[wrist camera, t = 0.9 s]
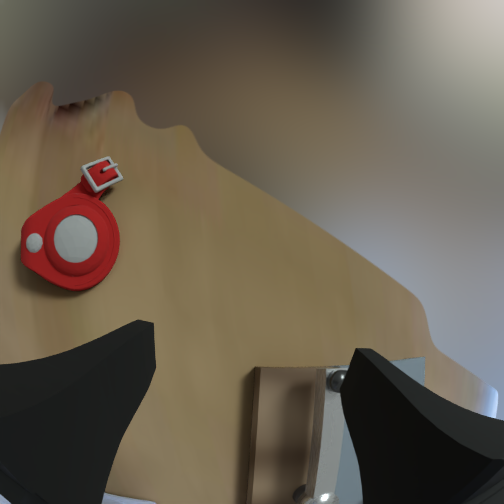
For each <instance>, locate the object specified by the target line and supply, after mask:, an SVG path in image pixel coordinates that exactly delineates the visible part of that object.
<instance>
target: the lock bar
mask: <svg viewBox="0 0 504 504" xmlns="http://www.w3.org/2000/svg"><path fill="white" fill-rule="evenodd" d="M347 370H348V368H316V384H315V401H314V415H313V427H312V438H311V448H310V457H309V466H308V474H307V481H306V488H305V492H304V493H302V494H301V495H300V497H299V498H298V500H297V502H296V504H339V498H338V496H337V495H335V494H334V493H335V487H336V481H337V475H338V469H339V462H340V455H341V447H342V439H343V430H344V419H345V417H344V414H343V410H342V404H341V397H340V390H339V389H340V387H341V385H342V382H343V380H344V378H345V375H346V373H347Z"/></svg>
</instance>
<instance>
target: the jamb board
mask: <svg viewBox="0 0 504 504" xmlns="http://www.w3.org/2000/svg"><path fill="white" fill-rule="evenodd" d="M316 368H333V367H326V366H323V367H255V377H254V394H253V411H252V427H251V443H250V458H249V473H248V487H247V501H246V504H296V502H297V500H298V498H299V497H300V495H301V494H302V493H304V492H305V488H306V481H307V474H308V466H309V457H310V448H311V438H312V427H313V415H314V401H315V384H316Z"/></svg>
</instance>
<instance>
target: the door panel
mask: <svg viewBox="0 0 504 504" xmlns="http://www.w3.org/2000/svg"><path fill="white" fill-rule="evenodd" d="M389 362H391V363H392V364H393V365H395V366H396V367H397V368H399V369H400V370H401V371H403V372H404V373H406V374H407V375H408V376H410V377H411V378H412V379H414V380H415V381H417V382H418V383H420V384H421V385H423V386H424V378H425V357H418V358H409V359H402V360H395V361H389ZM328 367H333V368H349V365H342V366H328ZM334 494H335V495H337V496H338V498H339V504H363V497H362V485H361V478H360V471H359V465H358V461H357V457H356V453H355V450H354V447H353V444H352V440H351V437H350V434H349V431H348V427H347V424H346V421H345V419H344V430H343V439H342V447H341V455H340V462H339V469H338V475H337V481H336V487H335V493H334Z"/></svg>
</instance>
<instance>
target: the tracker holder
mask: <svg viewBox="0 0 504 504" xmlns="http://www.w3.org/2000/svg"><path fill="white" fill-rule="evenodd" d="M117 166H118V164H117V163H116V164H114V163H113V161H112V160H111V158H110V157H109V156H108V157H105V158H102V159H100V160H97V161H94V162H92V163H89V164H86V165H84V166H82V167H81V171H82V173H83V175H82V177H81V182H80V183H79V184H77V185H76V186H75V187H74V188H73V189H71V190H70V191H69V192H67V193H66V194H64V195H63V196H62V197H60V198H59V199H57V200H55V201H53V202H51V203H49V204H48V205H46V206H44V207H43V208H41V209H40V210H38V211H37V212H36V213H34V214H33V215H31V216H30V217H29V218H28V219H27V220H26V221H25V223H24V225H23V227H22V230H21V262H22V263H23V264H24V265H25V266H26V267H28V268H29V269H31V270H32V271H34V272H35V273H37V274H38V275H40V276H41V277H42V278H44V279H45V280H47V281H48V282H50V283H52V284H55V285H57V286H59V287H61V288H64V289H67V290H71V291H82V290H86V289H89V288H91V287H93V286H95V285H97V284H98V283H99V282H101V281H102V280H103V279H104V278H105V277H106V276H107V275H108V273H109V272H110V271H111V269H112V267H113V265H114V263H115V261H116V259H117V255H118V251H119V245H120V237H119V230H118V225H117V223H116V220H115V218H114V216H113V214H112V213H111V211H110V210H109V208H108V207H107V206H106V205H105V204H104V203H103V202H101V201H100V200H99V198H100V197H101V195H102V194H103V192H105V191H106V190H107V189H108V188H109V187H110V186H111V185H113V184H115V183H117V182H119V181H121V180H123V177H122V175H121V174H120V172H119V171H118V169H117V168H116V167H117ZM91 167H92V168H91ZM89 168H91V169H89ZM87 169H89V170H88V171H87Z"/></svg>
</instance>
